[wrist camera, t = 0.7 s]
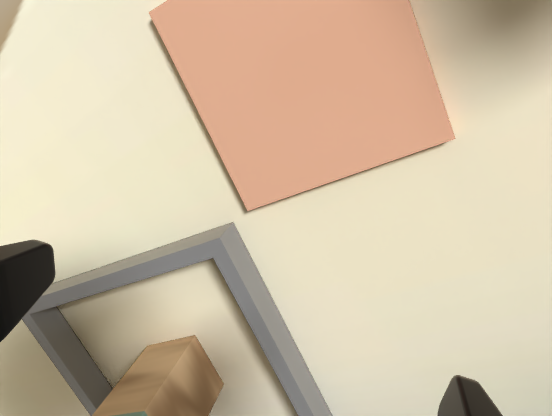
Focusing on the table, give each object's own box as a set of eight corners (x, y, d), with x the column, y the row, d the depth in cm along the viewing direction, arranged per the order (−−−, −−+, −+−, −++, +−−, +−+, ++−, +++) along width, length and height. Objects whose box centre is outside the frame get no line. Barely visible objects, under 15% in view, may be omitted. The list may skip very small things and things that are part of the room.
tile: (453, 135, 19) (455, 138, 19) (251, 206, 24) (247, 211, 23) (367, -123, 16) (366, -128, 16) (155, 12, 21) (148, 12, 20)
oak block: (224, 383, 30) (177, 477, 24) (176, 391, 32) (121, 480, 26) (195, 335, 29) (138, 420, 23) (147, 345, 31) (82, 427, 25)
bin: (348, 446, 29) (344, 474, 27) (152, 461, 36) (139, 484, 35) (233, 221, 24) (219, 237, 23) (34, 289, 32) (12, 305, 30)
